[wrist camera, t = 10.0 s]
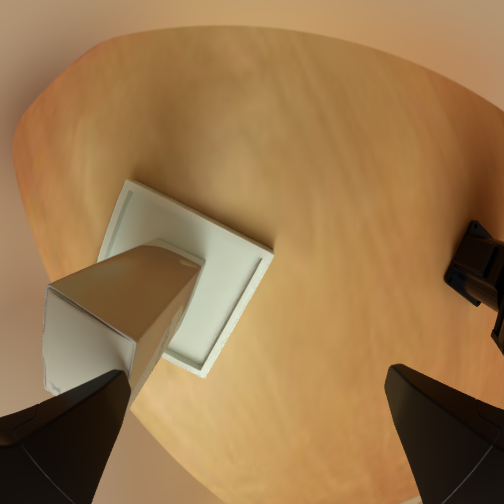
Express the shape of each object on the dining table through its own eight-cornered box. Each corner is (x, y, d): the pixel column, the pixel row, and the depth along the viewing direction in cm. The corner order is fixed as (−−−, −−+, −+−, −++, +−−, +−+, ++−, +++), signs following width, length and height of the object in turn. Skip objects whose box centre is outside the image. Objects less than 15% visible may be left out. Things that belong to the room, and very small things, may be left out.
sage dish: (273, 250, 20) (274, 254, 19) (207, 367, 23) (204, 378, 21) (135, 179, 20) (126, 179, 18) (93, 303, 22) (84, 310, 21)
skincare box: (181, 327, 21) (116, 440, 9) (134, 304, 21) (42, 392, 9) (209, 257, 20) (139, 344, 8) (157, 232, 20) (41, 283, 8)
